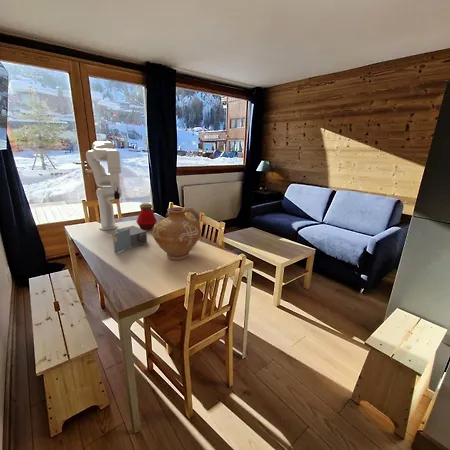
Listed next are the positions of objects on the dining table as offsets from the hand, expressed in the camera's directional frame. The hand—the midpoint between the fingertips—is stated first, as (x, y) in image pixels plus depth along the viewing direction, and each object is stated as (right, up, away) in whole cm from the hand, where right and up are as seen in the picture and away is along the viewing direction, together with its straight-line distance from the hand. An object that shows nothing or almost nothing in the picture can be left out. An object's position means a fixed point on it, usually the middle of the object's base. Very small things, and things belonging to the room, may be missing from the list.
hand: (117, 198), depth 163 cm
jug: (+42, -36, -11) cm, 56 cm away
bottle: (+9, -20, +33) cm, 40 cm away
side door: (+7, -33, -8) cm, 35 cm away
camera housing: (+8, -29, +7) cm, 31 cm away
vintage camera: (+35, -26, +18) cm, 47 cm away
